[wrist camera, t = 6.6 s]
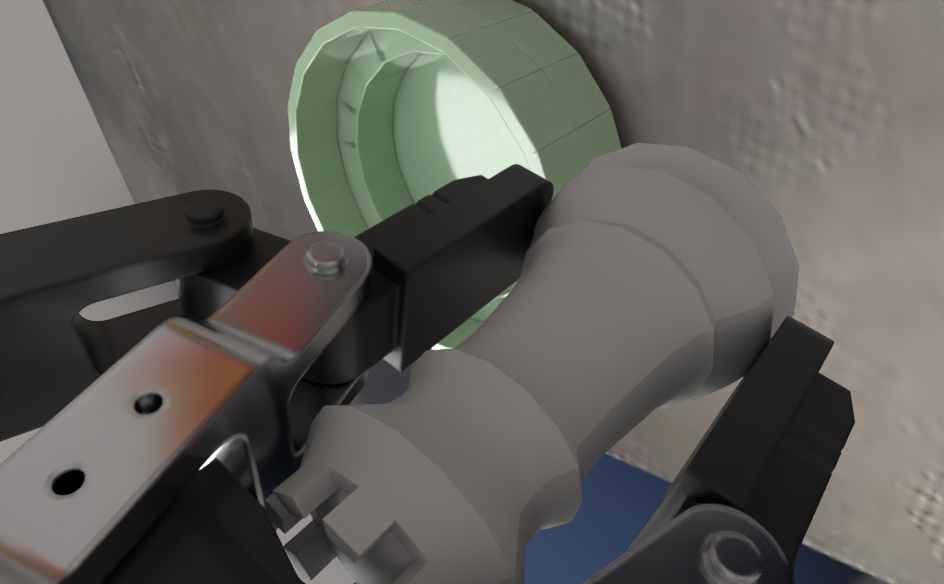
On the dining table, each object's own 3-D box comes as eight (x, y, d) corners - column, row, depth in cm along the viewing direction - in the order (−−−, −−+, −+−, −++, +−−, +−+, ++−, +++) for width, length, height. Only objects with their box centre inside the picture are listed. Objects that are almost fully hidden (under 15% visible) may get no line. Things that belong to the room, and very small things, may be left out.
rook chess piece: (792, 112, 9) (401, 481, 4) (823, 369, 11) (568, 846, 6) (546, 148, 12) (161, 380, 7) (600, 342, 14) (314, 636, 9)
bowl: (381, -65, 27) (277, -48, 24) (692, 71, 21) (613, 119, 18) (370, 212, 38) (296, 251, 34) (577, 354, 32) (513, 418, 29)
